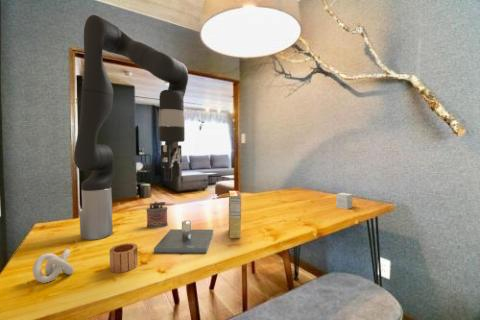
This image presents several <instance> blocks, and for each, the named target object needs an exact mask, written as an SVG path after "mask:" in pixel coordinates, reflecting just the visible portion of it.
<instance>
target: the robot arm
mask: <svg viewBox="0 0 480 320" xmlns="http://www.w3.org/2000/svg"><path fill="white" fill-rule="evenodd" d="M103 51H105V52H107V53H110V54H111V53H112V54H116V55H119V56H123V57H124V58H127V59H128V60H130V61H131V63H132V64H135V65H136V66H138V67H140V68H141V69H143V70H145V71H147V72H149V73H150V74H152V76H154V77H156V78H157V79H159V80H162V81H164V82H166V83H168V88H167V89H164V90H162V91H160V94H159V97H158V98H159V101H158V103H159V105H158V106H159V111H158V112H159V113H158V140H159V142H162V143H163V142H164V144H161V145H160V157H159V159H160V162H159V163H160V167H162V168H163V181H164V182H171V181H173V178H179V177H180V166H181V164H182V162H183V159H182V145H181V144H179V143H183V142H185V138H186V137H185V136H186V134H185V114H184V111H185V110H184V109H185V108H184V107H185V105H184V103H185V102H184V97H185V94H186V91H187V86H188V82H189V71H188V69H187V66H186V65H185V63H182V61H179V60H178V59H175V58H174V57H172V56H171V55H168V54H166V53H163V52H161V51H159V50H157V49H155V48H153V47H152V46H149V45H147V44H146V43H143V42H140V41H137V40H134V39H132V38H131V37H130V36H129V35H127V34H126V33H125V32H124V31H122V29H120V28H119V27H118V26H117V25H115V24H113V23H111V22H110V21H108V20H107V19H105V18H103V17H102V16H101V17H100V16H99V15H96V14H92V15H90V16H88V17H87V18H86V21H85V24H84V27H83V58H84V59H83V79H82V88H81V100H80V103H81V105H80V117H79V124H78V125H79V126H78V131H77V136H76V141H75V146H74V147H75V148H74V154H73V160H74V164H75V166H76V167H77V169H79V170H80V171H82V172H89V171H91V175H90V176H89V177H87V178H86V179H84V180H83V181H82V182H81V185H80V187H81V188H80V189H81V209H82V210H80V211H79V233H80V234H79V235H80V239H84V240H88V241H89V240H94V241H95V240H98V239H99V240H101V239H105V238H107V237H109V236H111V235H112V234H113V231H114V229H113V224H114V223H113V198H112V196H113V195H112V194H113V193H112V184H113V183H112V182H113V180H114V168H115V167H114V165H115V163H114V161H115V160H114V159H115V158H114V153H113V151H112V148H111V147H110V146H109V145H107V144H100V143H99V144H97V140H98V134H99V131H100V129H101V127H102V125H103V124H104V122H105V121H106V120H107V119H108V118H109V116H110V114H111V112H112V110H113V103H114V87H113V84H112V82H111V79H110V77H109V75H108V73H107V71H106V70H107V69H106V68H105V66H104V60H103Z"/></svg>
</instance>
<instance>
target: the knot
mask: <svg viewBox="0 0 480 320" xmlns="http://www.w3.org/2000/svg"><path fill="white" fill-rule="evenodd" d="M70 254H71V250H70V249H69V248H67V249H66V248H65V249H64V250H63V252H62V254H61V256H60V257H59V256H58V255H56V254H54V253H52V252H51V253H50V252H49V253H43V254H41V255H40V256H39V257H37V259H35V261H34V263H33V266H32V274H33V277H34V279H35V280H36V281H37V282H38V283H43V284H45V283H46V284H47V282H48V283H51V282H53V281H54V280H55V279H56V278H57V277H58V276H59V275H60V273H61V272H62V273H63V274H65V275H72V274H73V273H74V270H75V269H74V267H73V265H72V264H70V263H69V262H68V261H67V259H68V258H69V255H70ZM45 261H46V263H45V269H44V270H45V271H44V272H45V274H46V275H44V273H43V272H42V264H43V262H45ZM50 281H51V282H50Z"/></svg>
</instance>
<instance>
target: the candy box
mask: <svg viewBox="0 0 480 320" xmlns="http://www.w3.org/2000/svg"><path fill="white" fill-rule="evenodd" d="M241 230H242V195H241V193H240V191H239V190H229V191H228V232H229V233H228V234H229V239H239V238H242V235H241V233H242V231H241Z"/></svg>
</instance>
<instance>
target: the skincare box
mask: <svg viewBox="0 0 480 320" xmlns="http://www.w3.org/2000/svg"><path fill="white" fill-rule="evenodd" d="M353 198H354V197H353V193H346V192H339V193H336V199H335V200H336V206H335V207H336V208H339V209H344V210H350V209H352V208H353V201H354V200H353Z"/></svg>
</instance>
